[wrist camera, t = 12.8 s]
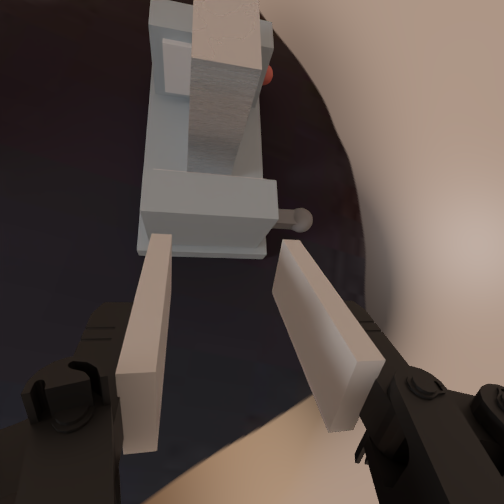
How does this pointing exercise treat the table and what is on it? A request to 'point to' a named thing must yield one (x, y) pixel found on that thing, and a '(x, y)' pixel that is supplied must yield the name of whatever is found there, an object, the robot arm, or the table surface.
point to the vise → (177, 113)
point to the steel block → (221, 81)
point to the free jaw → (214, 208)
